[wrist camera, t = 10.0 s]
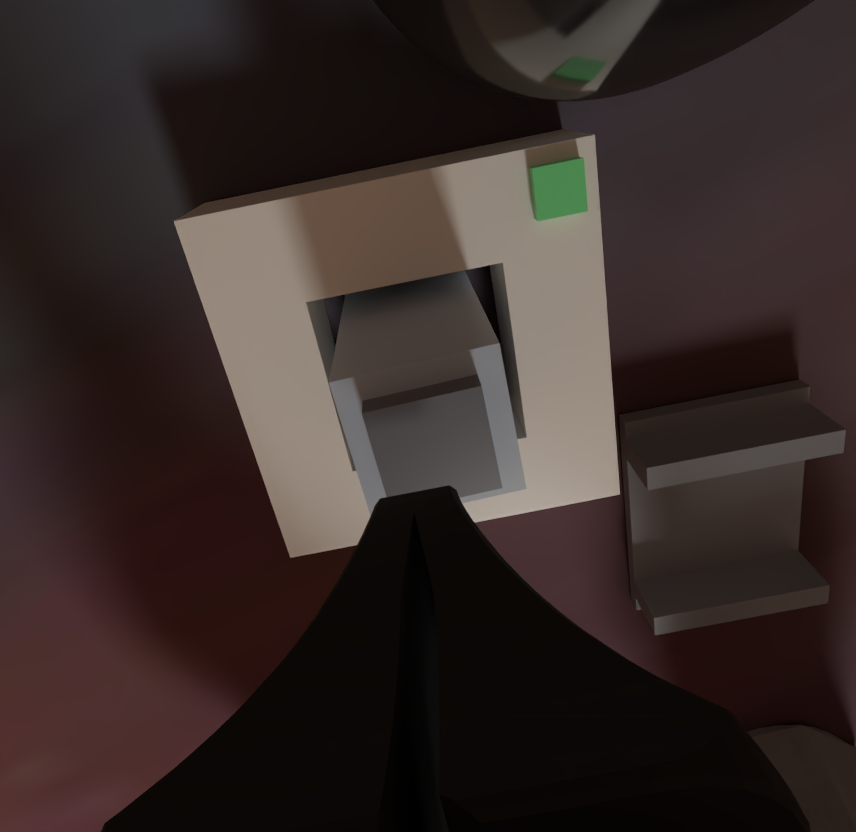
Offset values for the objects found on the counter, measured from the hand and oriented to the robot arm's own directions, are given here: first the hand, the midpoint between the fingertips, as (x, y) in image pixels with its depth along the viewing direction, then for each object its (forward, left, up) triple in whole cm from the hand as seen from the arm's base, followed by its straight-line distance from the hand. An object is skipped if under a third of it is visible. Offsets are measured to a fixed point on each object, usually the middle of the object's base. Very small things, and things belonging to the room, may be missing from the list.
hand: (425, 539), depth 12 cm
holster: (-8, -9, -10) cm, 16 cm away
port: (0, 0, -10) cm, 10 cm away
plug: (0, 0, -10) cm, 10 cm away
